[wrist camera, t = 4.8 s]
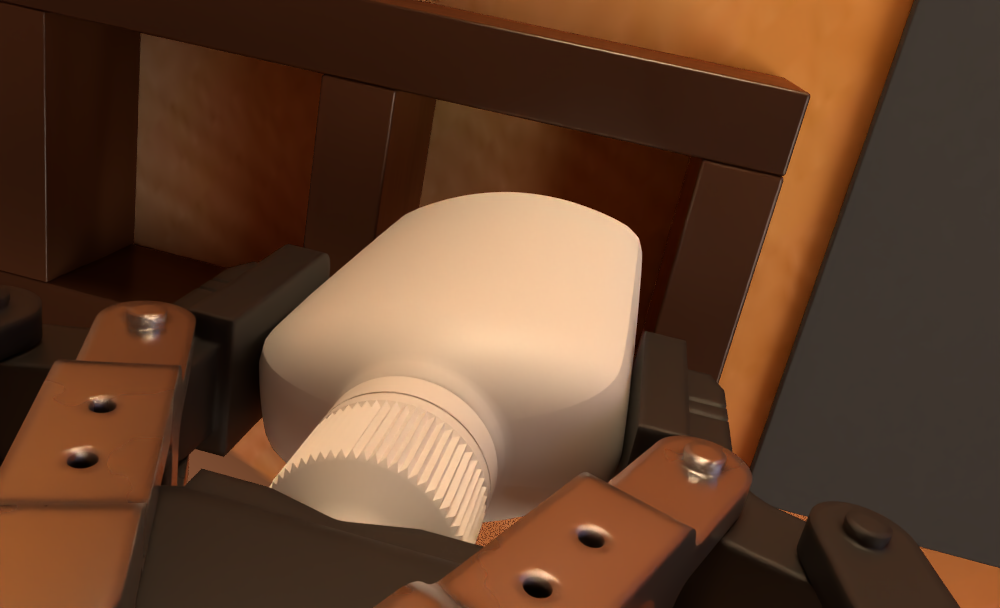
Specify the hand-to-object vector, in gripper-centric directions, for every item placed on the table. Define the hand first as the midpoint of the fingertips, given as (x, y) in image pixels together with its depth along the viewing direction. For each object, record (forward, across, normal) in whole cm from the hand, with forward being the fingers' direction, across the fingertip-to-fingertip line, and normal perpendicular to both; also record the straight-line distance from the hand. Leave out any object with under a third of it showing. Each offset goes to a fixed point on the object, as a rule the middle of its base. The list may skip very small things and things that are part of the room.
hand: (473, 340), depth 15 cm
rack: (+9, +4, 0) cm, 10 cm away
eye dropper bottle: (+5, 0, 0) cm, 5 cm away
